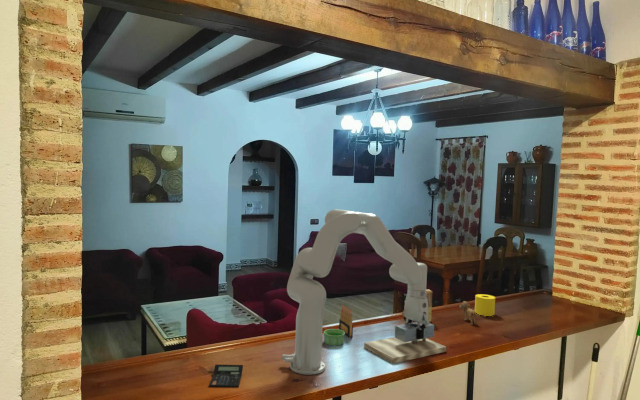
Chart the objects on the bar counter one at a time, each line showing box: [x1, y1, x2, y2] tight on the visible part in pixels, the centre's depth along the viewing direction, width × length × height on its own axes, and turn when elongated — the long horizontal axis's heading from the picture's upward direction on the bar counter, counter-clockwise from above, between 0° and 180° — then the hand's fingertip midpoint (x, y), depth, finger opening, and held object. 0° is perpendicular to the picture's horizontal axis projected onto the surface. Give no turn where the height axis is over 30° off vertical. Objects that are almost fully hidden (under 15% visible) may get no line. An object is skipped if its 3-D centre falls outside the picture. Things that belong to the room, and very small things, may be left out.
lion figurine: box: [459, 300, 479, 326], centre depth 226 cm, size 15×5×9 cm, turn 12°
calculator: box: [208, 364, 244, 388], centre depth 149 cm, size 9×12×3 cm
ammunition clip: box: [338, 304, 354, 338], centre depth 200 cm, size 11×2×12 cm, turn 22°
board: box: [363, 336, 447, 364], centre depth 183 cm, size 28×18×8 cm, turn 121°
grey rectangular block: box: [394, 322, 435, 342], centre depth 185 cm, size 16×6×5 cm, turn 121°
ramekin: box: [323, 328, 346, 346], centre depth 188 cm, size 9×9×4 cm
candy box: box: [413, 289, 433, 323], centre depth 224 cm, size 9×4×15 cm, turn 103°
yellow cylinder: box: [474, 293, 496, 317], centre depth 241 cm, size 10×10×9 cm
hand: (414, 335), depth 185 cm, fingers closed on grey rectangular block, 5 cm apart
